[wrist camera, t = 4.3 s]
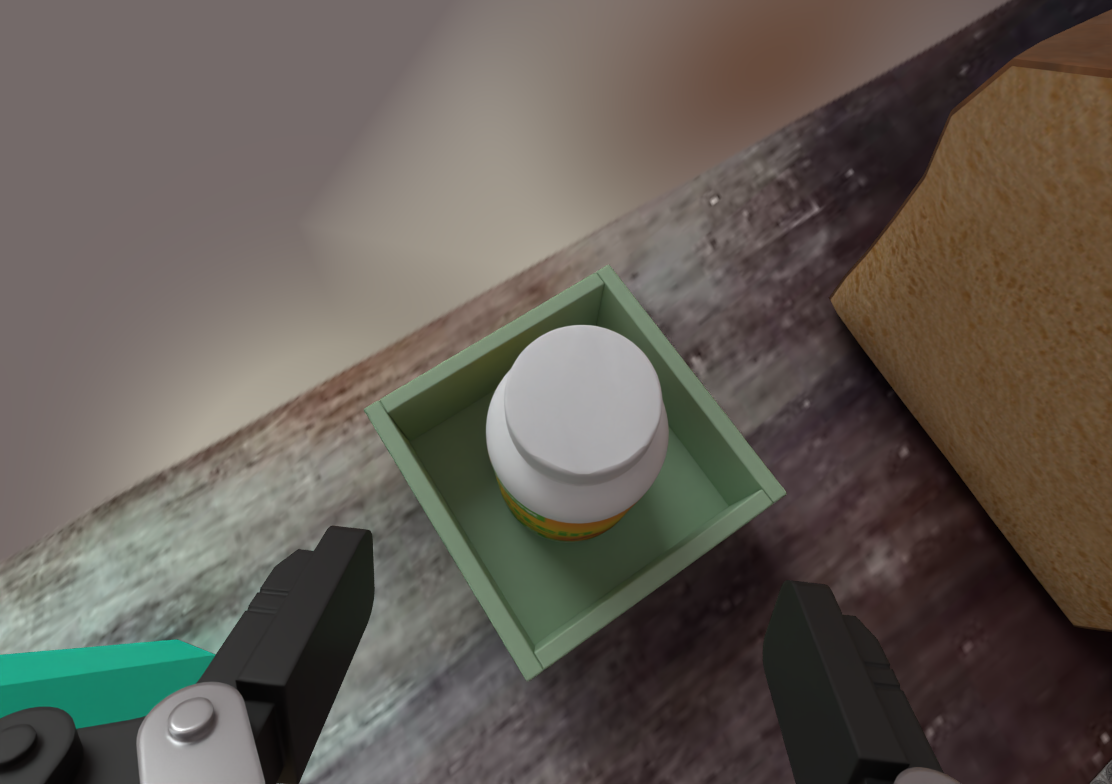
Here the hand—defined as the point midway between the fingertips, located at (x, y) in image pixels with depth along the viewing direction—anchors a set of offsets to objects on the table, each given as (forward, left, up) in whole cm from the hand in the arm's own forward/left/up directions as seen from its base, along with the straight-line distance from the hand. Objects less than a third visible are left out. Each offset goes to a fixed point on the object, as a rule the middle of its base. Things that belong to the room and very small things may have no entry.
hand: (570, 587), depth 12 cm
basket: (-2, +4, -12) cm, 13 cm away
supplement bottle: (-2, +4, -12) cm, 13 cm away
